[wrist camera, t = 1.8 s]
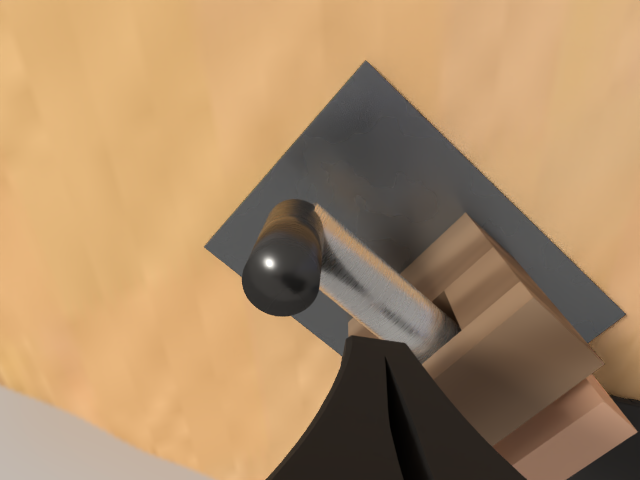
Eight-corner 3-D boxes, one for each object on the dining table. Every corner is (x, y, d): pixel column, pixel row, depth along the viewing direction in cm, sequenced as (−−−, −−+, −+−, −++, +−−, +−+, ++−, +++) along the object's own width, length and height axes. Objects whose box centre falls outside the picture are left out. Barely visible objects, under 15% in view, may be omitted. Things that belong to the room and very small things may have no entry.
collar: (559, 333, 19) (638, 432, 14) (458, 412, 21) (495, 526, 16) (533, 308, 19) (603, 401, 14) (432, 391, 20) (462, 501, 15)
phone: (449, 361, 22) (755, 432, 23) (445, 351, 23) (742, 420, 23) (402, 479, 25) (677, 540, 25) (400, 466, 25) (668, 526, 26)
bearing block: (514, 258, 20) (605, 364, 13) (395, 361, 22) (420, 498, 15) (465, 212, 19) (533, 297, 13) (348, 322, 22) (350, 447, 15)
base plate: (620, 309, 21) (625, 314, 21) (452, 438, 24) (453, 444, 24) (365, 60, 18) (365, 60, 18) (206, 243, 21) (203, 247, 21)
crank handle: (561, 407, 18) (636, 525, 13) (519, 437, 18) (576, 561, 14) (297, 176, 15) (278, 226, 11) (257, 220, 16) (223, 286, 11)
